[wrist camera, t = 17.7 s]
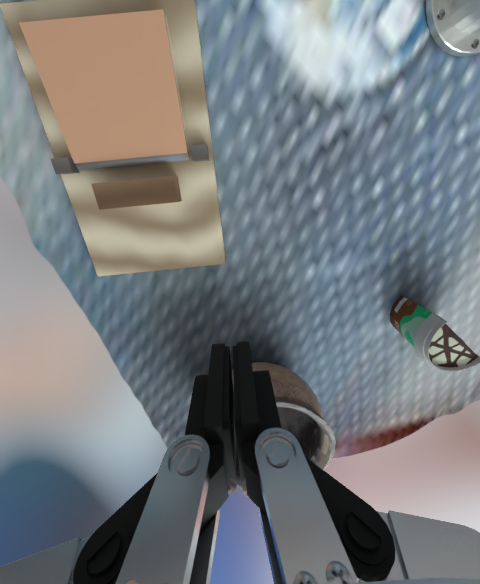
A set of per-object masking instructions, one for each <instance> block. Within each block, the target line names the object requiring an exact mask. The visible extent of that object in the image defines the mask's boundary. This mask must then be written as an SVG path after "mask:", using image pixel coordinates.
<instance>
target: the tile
mask: <svg viewBox="0 0 480 584" xmlns="http://www.w3.org/2000/svg"><path fill="white" fill-rule="evenodd" d="M19 24H20V27H21V29H22V32H23V34H24V37H25V39H26V42H27V45H28V47H29V50H30V52H31V55H32V57H33V60H34V62H35V65H36V67H37V70H38V72H39V75H40V78H41V80H42V83H43V85H44V88H45V90H46V93H47V95H48V98H49V100H50V103H51V106H52V108H53V111H54V113H55V116H56V118H57V121H58V123H59V126H60V128H61V131H62V134H63V136H64V139H65V141H66V144H67V146H68V149H69V151H70V154H71V156H72V159H73V161H74V164H75V165H76V167H77V169H78V170H80V171H81V170H91V169H102V168H112V167H123V166H133V165H144V164H154V163H164V162H175V161H185V160H190V156H189V149H188V143H187V137H186V131H185V125H184V119H183V113H182V107H181V102H180V96H179V90H178V84H177V78H176V72H175V66H174V60H173V54H172V48H171V42H170V36H169V30H168V24H167V18H166V15H165V13H164V10H163V9H161V10H150V11H140V12H129V13H118V14H107V15H96V16H85V17H74V18H63V19H53V20H42V21H31V22H20V23H19Z"/></svg>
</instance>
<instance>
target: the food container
mask: <svg viewBox="0 0 480 584" xmlns="http://www.w3.org/2000/svg"><path fill="white" fill-rule="evenodd" d="M390 321H391V323H392V325H393V326H394V327H395V328H396V329H397V330H398V331H399V332H400V333H401V334H402V335H403V336H404V337H405V338H406V339H407V340H408V341H409V342H410V343H411V344H412V345H413V346H414V349H415V352H416V354H417V356H418V357H419V358H420V359H421V360H422V361H424V362H425V363H427V364H429V365H431V366H433V367H435V368H438V369H441V370H444V371H459V370H464V369H468V368H470V367H473V366H475V365H477V364H479V363H480V356H478V355H477V354H475V353H474V352H473V351H472V350H471V349H470V348H469V347H468V346H467V345H466V344H465V343H464V341H463V340H462V339H461V338H460V337H458V336H457V335H456V334H455V333H454V332H453V331H452V330H451V329H450V328H449V327H448V326H447V325H446V324H445V323H446V322H447V321H445V320H444V319H442V318H441V317H440V316H438V315H436V314H435V313H432V312H430V311H428V310H426V309H425V308H423V307H421V306H420V305H418V304H416V303H414V302H413V301H411V300H409V299H408V298H406V297H404V296H401V297H400V298H399V299H398V300H397V301H396V303H395V304H394V306H393V307H392V310H391V313H390Z"/></svg>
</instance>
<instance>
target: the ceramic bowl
mask: <svg viewBox="0 0 480 584" xmlns="http://www.w3.org/2000/svg"><path fill="white" fill-rule="evenodd" d="M252 369H253V371H262V370H269V373H270V377H271V382H272V386H273V391H274V395H275V400H276V405H277V409H278V414H279V418H280V423H281V428H282V429H285V430H287V431H289V432H290V433H291V434H293V435H294V436H295V437H296V439H297V441H298V442H299V444H300V446H301V448H302V451H303V453H304V455H305V457H306V458H308V459H309V460H310V461H312V462H313V463H314V464H316V465H317V466H318V467H320V468H321V469H322V470H324V471H325V469H326V468H327V466H328V465H329V464H330V463H331V459H332V457H333V455H334V453H335V437H334V434H333V432H332V430H331V428H330V427H329V425H328V424H327V423H326V421H325V420H324V419H323V415H322V411H321V407H320V404H319V401H318V399H317V397H316V396H315V394H314V393H313V391H312V390H311V388H310V387H309V386H308V384H307V383H306V382H305V381H304V380H302V379H301V378H300V377H299V376H298V375H297V374H295V373H294V372H293V371H291V370H289V369H287V368H285V367H283V366H280V365H277V364H272V363H267V362H255V363H252ZM232 378H233V388H234V377H233V369H232ZM235 459H236V479H231V480H230V490H228V494H236V492H237V486H239V487H240V488H241V489H242V491H243V493H244V495H245V496H247V488H246V478H243V479H240V470H239V460H238V451H237V442H236V433H235ZM247 497H248V496H247Z"/></svg>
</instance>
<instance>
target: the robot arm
mask: <svg viewBox="0 0 480 584" xmlns="http://www.w3.org/2000/svg"><path fill="white" fill-rule="evenodd" d="M426 15H427V23H428V26H429V30H430V33H431V35H432V37H433V39H434V41H435V42H436V44H437V45H438V46H439V47H440V48H441V49H442V50H443V51H445V52H447V53H448V54H450V55H454V56H458V57H467V56H472V55H476V54H479V53H480V0H426ZM233 377H234V388H233V378H232V368H231V359H230V349H229V346H227V347H225V344H213V345H212V351H211V360H210V369H209V375H199V376H196V377H195V382H194V387H193V393H192V399H191V404H190V410H189V415H188V421H187V426H186V432H185V436H183V437H180V438H179V439H177V440H176V441H174V442H173V443H172V444H171V445H170V447H169V448H168V449H167V451H166V453H165V455H164V458H163V460H162V463H161V465H160V468H159V471H158V473H157V474H156V475H155V476H154V477H153V478H152V479H150V480H149V481H148V482H147V483H146V484H145V485H144V486H143V487H142V488H141V489H140V490H139V491H138V492H137V493H135V494H134V495H133V496H132V497H131V498H130V499H129V500H128V501H127V502H126V503H125V504H124V505H123V506H122V507H121V508H119V509H118V510H117V511H116V512H115V514H113V515H112V516H111V517H110V518H109V519H108V520H107V521H106V522H105V523H104V524H102V525H101V526H100V527H99V528H98V529H97V530H96V531H95V533H94V534H93V535H92V536H91V537H89V538H86V539H84V540H81V539H80V538H76V539H74V540H71V541H68V542H66V543H63V544H61V545H58V546H55V547H52V548H50V549H47V550H44V551H42V552H39V553H36V554H34V555H31V556H28V557H25V558H23V559H20V560H17V561H15V562H12V563H10V564H7V565H4V566H2V567H0V584H210V577H211V570H212V563H213V557H214V550H215V543H216V536H217V529H218V522H219V515H220V507H221V506H222V505H223V503H224V502H225V501H226V499H227V498H228V490H230V480H231V479H236V459H235V433H236V442H237V451H238V460H239V470H240V479H243V478H246V488H247V496H248V497H249V498H250V499H251V500H252V501H253V502H254V503H255V504H256V505H257V506H258V510H259V514H260V519H261V524H262V529H263V533H264V538H265V543H266V548H267V552H268V557H269V562H270V567H271V571H272V576H273V581H274V584H480V533H479V532H477V531H476V530H474V529H472V528H469V527H466V526H463V525H459V524H454V523H449V522H444V521H439V520H434V519H429V518H424V517H419V516H414V515H409V514H404V513H399V512H394V511H389V512H388V514H387V513H382V512H377V511H375V510H374V509H373V508H372V507H371V506H370V505H368V504H367V503H366V502H365V501H363V500H362V499H360V498H359V497H358V496H357V495H355V494H354V493H353V492H351V491H350V490H349V489H347V488H346V487H345V486H343V485H342V484H341V483H339V482H338V481H337V480H335V479H334V478H333V477H331V476H330V475H329V474H327V473H326V472H325V471H324V470H322V469H321V468H320V467H318V466H317V465H316V464H314V463H313V462H312V461H310V460H309V459H308V458H306V457H305V455H304V453H303V451H302V448H301V446H300V444H299V442H298V441H297V439H296V437H295V436H294V435H293V434H291V433H290V432H289V431H287V430H285V429H282V428H281V423H280V418H279V414H278V409H277V405H276V400H275V395H274V391H273V386H272V382H271V377H270V373H269V370H262V371H253V369H252V361H251V353H250V345H249V342H237V346H233Z"/></svg>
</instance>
